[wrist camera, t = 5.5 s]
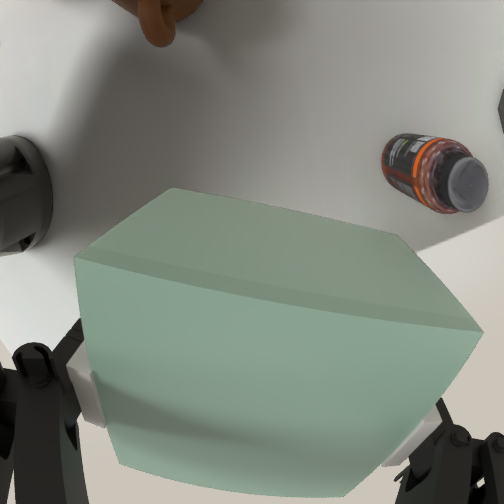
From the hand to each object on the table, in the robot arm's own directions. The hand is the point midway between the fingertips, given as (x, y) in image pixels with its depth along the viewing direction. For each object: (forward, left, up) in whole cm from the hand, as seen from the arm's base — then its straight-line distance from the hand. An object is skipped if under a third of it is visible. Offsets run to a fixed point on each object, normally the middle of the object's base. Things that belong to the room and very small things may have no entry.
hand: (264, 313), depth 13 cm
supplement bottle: (+13, +7, -18) cm, 23 cm away
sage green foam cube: (0, 0, 0) cm, 0 cm away
